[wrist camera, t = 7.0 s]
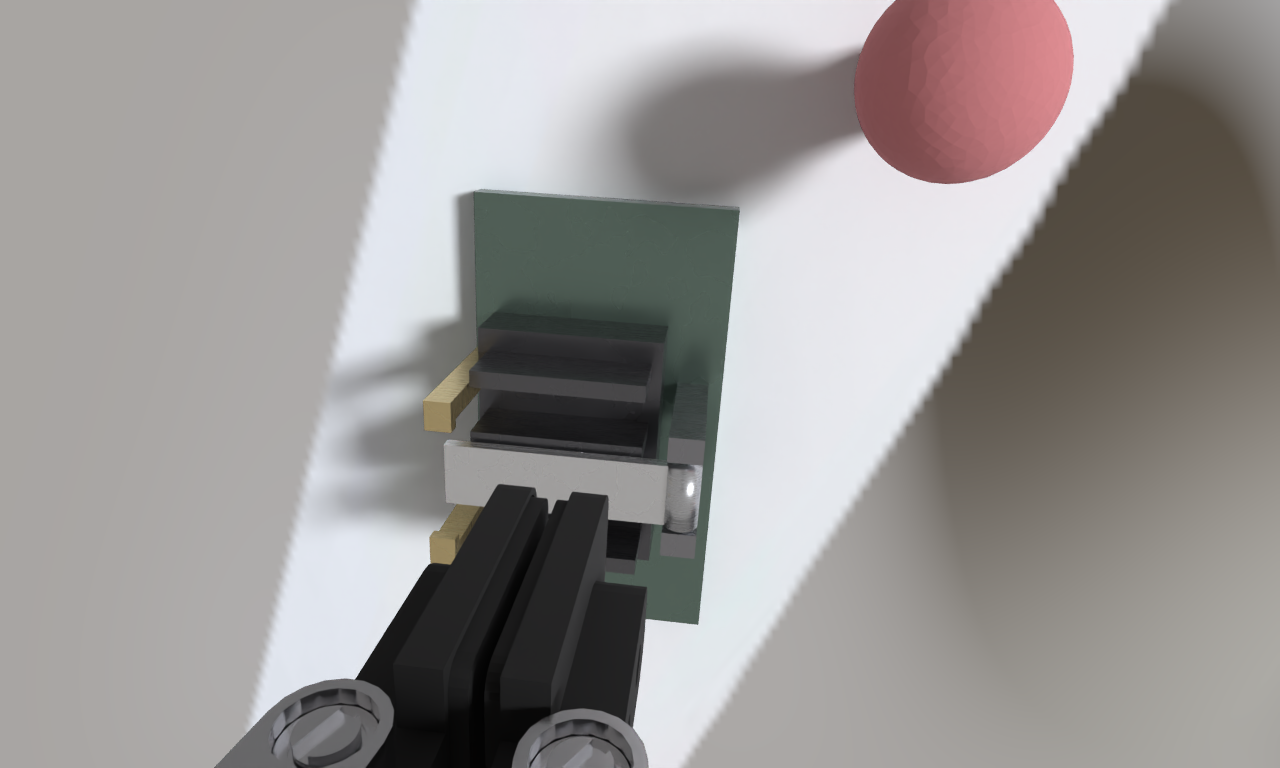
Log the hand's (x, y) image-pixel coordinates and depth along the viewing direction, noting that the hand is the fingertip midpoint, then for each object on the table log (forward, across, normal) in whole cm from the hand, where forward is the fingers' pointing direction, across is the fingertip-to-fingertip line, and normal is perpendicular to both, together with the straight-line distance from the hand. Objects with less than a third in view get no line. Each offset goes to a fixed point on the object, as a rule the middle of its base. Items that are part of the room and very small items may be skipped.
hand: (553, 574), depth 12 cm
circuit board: (+29, +3, +10) cm, 31 cm away
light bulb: (+29, -10, -8) cm, 32 cm away
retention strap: (+22, +3, +10) cm, 24 cm away
